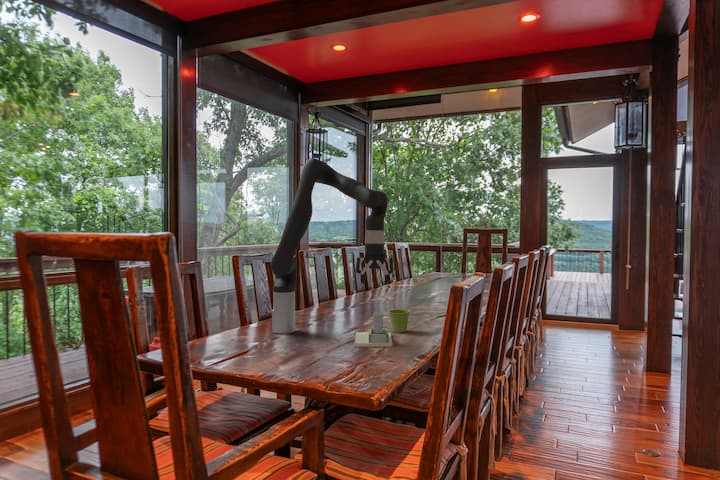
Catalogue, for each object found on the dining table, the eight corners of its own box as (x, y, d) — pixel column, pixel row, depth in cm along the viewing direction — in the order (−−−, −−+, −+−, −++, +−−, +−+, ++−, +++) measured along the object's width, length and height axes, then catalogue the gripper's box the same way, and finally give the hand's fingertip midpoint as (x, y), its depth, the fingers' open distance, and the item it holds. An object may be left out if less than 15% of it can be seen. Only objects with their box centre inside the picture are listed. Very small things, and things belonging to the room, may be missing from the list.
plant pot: (385, 333, 192) (385, 312, 192) (392, 328, 201) (392, 308, 201) (406, 334, 189) (406, 313, 189) (412, 330, 198) (412, 310, 197)
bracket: (373, 341, 173) (373, 314, 173) (373, 337, 179) (373, 312, 179) (383, 341, 173) (382, 314, 173) (382, 337, 179) (382, 312, 179)
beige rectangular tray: (354, 346, 171) (354, 335, 170) (356, 335, 189) (356, 325, 188) (392, 346, 170) (392, 335, 170) (390, 335, 188) (390, 325, 188)
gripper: (355, 242, 173) (355, 285, 174) (393, 242, 173) (393, 285, 173) (356, 241, 181) (356, 283, 181) (393, 242, 180) (392, 283, 181)
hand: (374, 284), depth 177 cm, fingers open, 8 cm apart
